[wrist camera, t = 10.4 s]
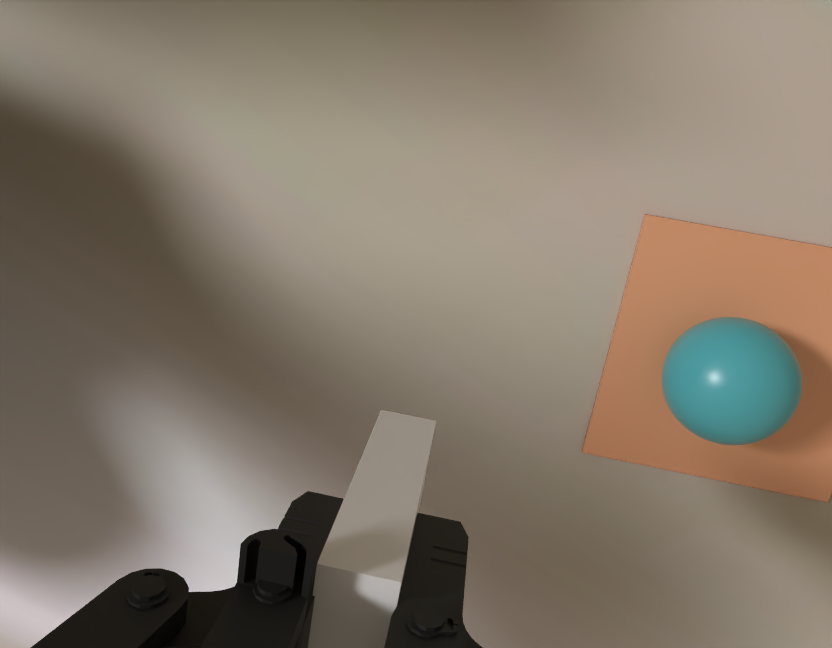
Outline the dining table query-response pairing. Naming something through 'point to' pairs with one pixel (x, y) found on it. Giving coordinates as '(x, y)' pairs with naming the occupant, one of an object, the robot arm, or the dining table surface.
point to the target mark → (700, 301)
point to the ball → (731, 381)
